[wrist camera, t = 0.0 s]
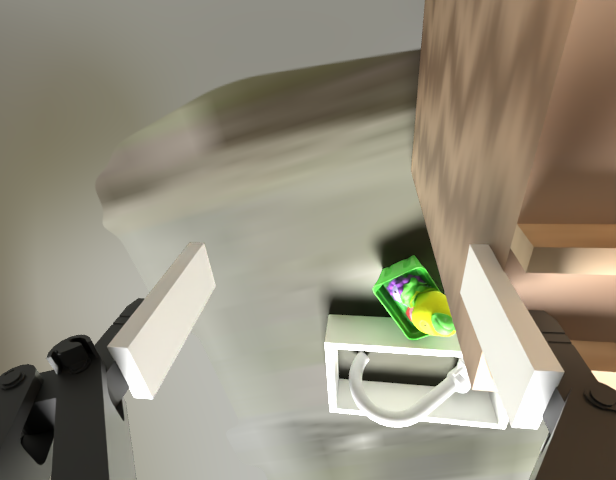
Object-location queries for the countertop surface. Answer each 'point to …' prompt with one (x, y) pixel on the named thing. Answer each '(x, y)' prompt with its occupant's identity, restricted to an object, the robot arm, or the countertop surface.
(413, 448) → the countertop surface
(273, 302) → the countertop surface
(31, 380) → the robot arm
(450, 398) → the tray
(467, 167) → the brown patterned box
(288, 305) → the countertop surface
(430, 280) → the fruit basket
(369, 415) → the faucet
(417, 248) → the countertop surface
